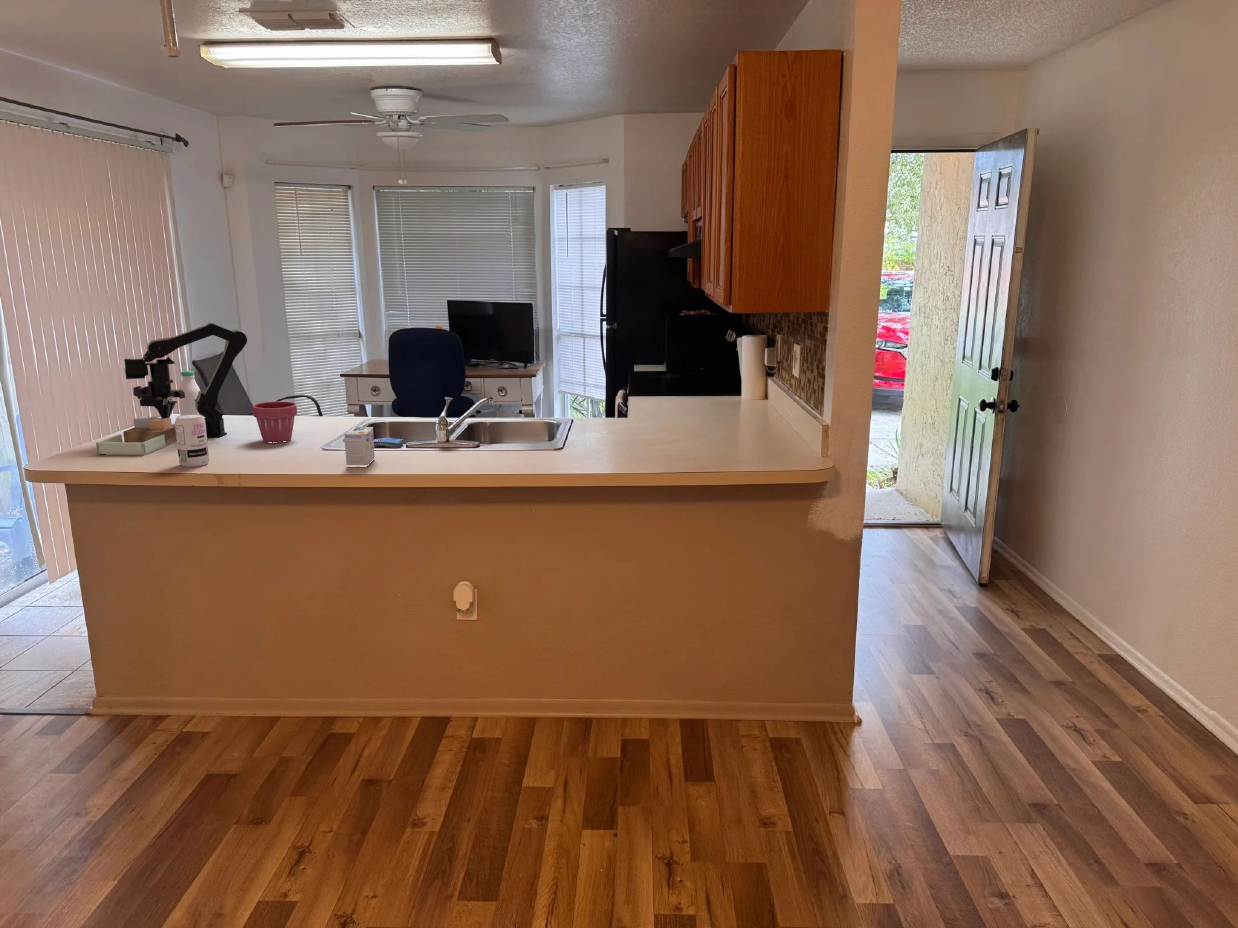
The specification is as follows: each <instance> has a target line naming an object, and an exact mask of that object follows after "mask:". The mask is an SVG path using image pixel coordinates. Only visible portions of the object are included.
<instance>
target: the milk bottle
mask: <svg viewBox="0 0 1238 928" xmlns="http://www.w3.org/2000/svg"><path fill="white" fill-rule="evenodd" d="M195 374H196V373H195V371H194V370H181V371H180V377H181V383H180V387H179V389H178V390H183V391H184V392H185V398H182V399H180V398H178V402H179V403H178V404H179V411H180V413H179V414H180V416H181V415H189V414H198V415H201V414H199V412H198V411H197V410H196V408H195V401H194V400H195V399H196V398H197V396H198V392H199V391H201V389H200V387H199V385H198V384H197V382H196V379H195V377H196V376H195ZM202 417H203V418H205V417H204V416H202Z"/></svg>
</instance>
